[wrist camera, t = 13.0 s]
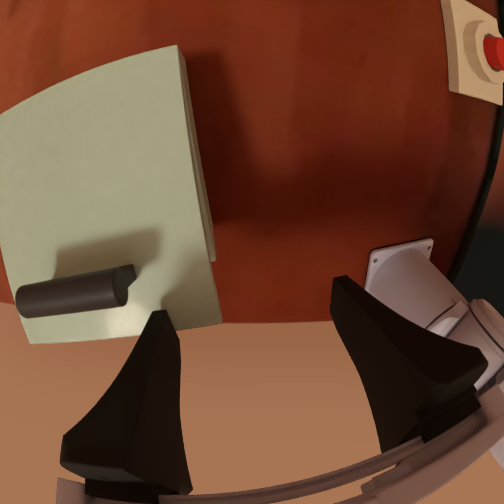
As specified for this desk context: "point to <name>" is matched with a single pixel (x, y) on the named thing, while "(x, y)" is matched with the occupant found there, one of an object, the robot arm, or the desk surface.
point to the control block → (470, 51)
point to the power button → (494, 51)
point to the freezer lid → (104, 205)
